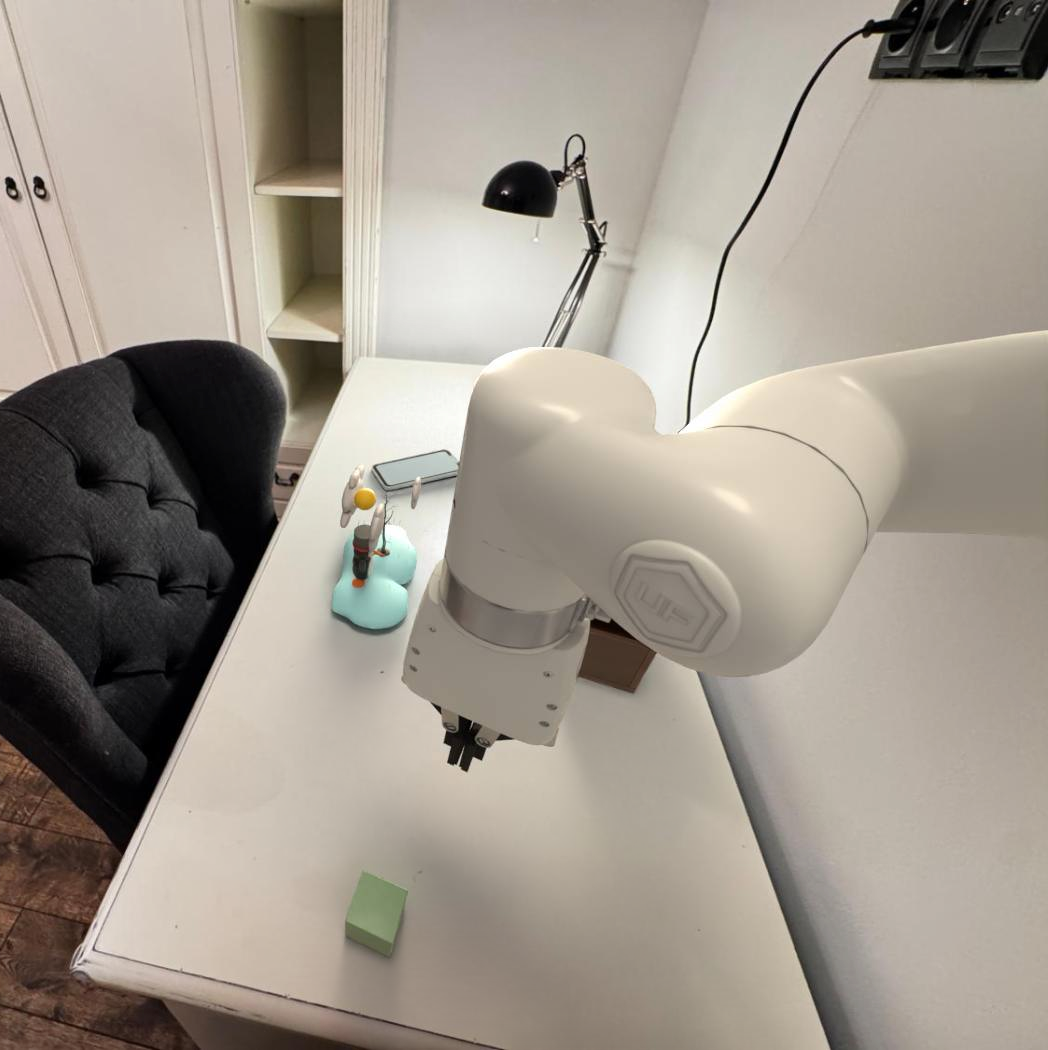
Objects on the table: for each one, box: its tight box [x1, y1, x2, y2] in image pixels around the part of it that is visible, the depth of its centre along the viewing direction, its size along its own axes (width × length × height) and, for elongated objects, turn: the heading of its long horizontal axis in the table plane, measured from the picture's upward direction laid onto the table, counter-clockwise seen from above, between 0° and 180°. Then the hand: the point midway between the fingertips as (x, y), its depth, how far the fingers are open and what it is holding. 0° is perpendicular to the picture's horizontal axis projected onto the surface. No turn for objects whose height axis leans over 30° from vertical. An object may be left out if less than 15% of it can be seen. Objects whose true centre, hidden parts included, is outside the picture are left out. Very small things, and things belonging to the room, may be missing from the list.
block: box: [344, 869, 409, 958], centre depth 47 cm, size 4×4×4 cm
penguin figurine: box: [330, 463, 422, 630], centre depth 75 cm, size 20×11×15 cm, turn 167°
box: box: [577, 618, 658, 694], centre depth 69 cm, size 13×10×9 cm
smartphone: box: [371, 448, 460, 491], centre depth 99 cm, size 7×1×15 cm
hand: (463, 751), depth 43 cm, fingers closed
